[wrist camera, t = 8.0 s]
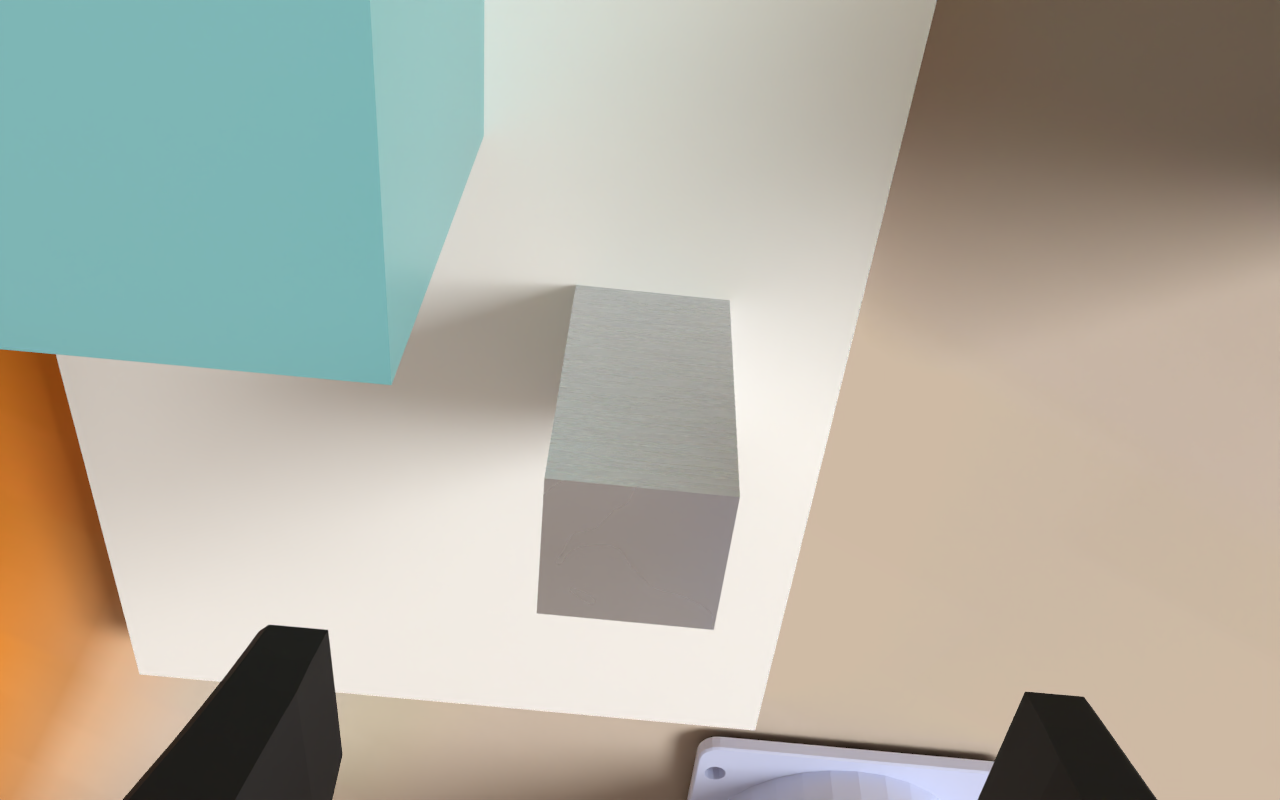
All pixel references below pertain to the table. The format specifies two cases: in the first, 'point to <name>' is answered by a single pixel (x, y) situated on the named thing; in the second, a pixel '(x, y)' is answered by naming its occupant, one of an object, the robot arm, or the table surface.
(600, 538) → the steel post
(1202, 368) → the table surface
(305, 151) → the teal rectangular block
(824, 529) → the table surface
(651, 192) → the post board
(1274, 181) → the table surface
